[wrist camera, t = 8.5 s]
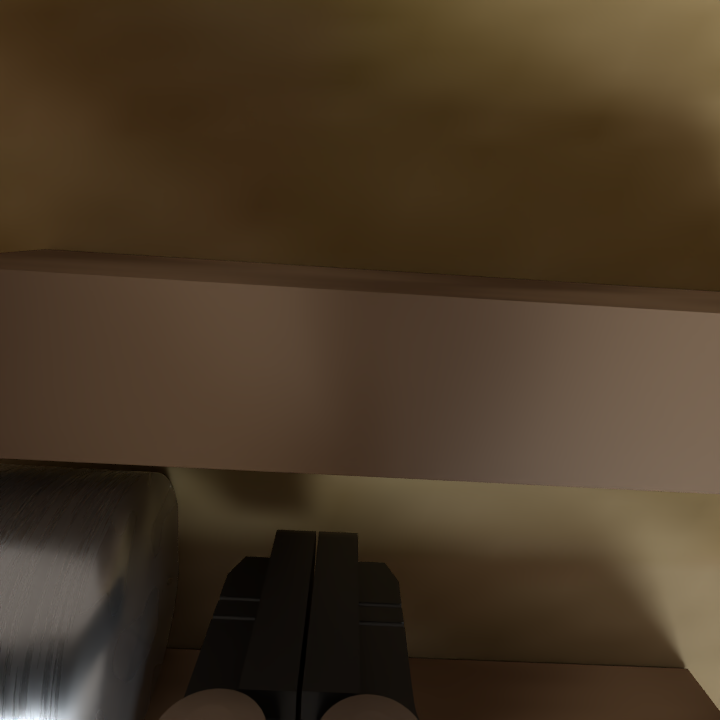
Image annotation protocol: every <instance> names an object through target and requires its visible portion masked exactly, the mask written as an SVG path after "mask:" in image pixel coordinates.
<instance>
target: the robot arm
mask: <svg viewBox="0 0 720 720" xmlns="http://www.w3.org/2000/svg"><path fill="white" fill-rule="evenodd" d="M315 549H316V531H295V530H277V532H276V536H275V540H274V544H273V548H272V552H271V556H270V558H268V557H247V556H246V557H245V558H244V559H243V560H242V561H241V562H240V563H239V564H238V565H237V566H236V567H235V568H233V569H232V570H231V571H230V572H229V573H228V575H227V578H226V580H225V583H224V586H223V589H222V592H221V594H220V600H218V603H217V606H216V608H215V611H214V614H213V619H212V620H211V622H210V625H209V628H208V631H207V634H206V636H205V639H204V642H203V645H202V648H201V650H200V653H199V656H198V659H197V662H196V665H195V667H194V670H193V673H192V676H191V679H190V681H189V684H188V687H187V690H186V693H185V695H184V697H183V699H181V700H179V701H178V702H176V703H175V704H174V705H172V706H171V707H170V708H169V709H168V710H167V711H166V712H165V713H164V714H163V715H162V716H161V717H160V718H159V720H419V718H418V715H417V713H416V709H415V704H414V697H413V690H412V682H411V674H410V666H409V659H408V651H407V643H406V636H405V628H404V620H403V613H402V608H401V597H400V590H399V582H398V580H397V579H396V578H395V576H394V575H393V574H392V572H391V571H390V569H389V568H388V567H387V565H386V564H385V563H379V562H358V535H357V533H340V532H319V538H318V547H317V557H316V566H315ZM314 570H315V575H314Z"/></svg>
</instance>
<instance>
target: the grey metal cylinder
mask: <svg viewBox="0 0 720 720" xmlns="http://www.w3.org/2000/svg"><path fill="white" fill-rule="evenodd" d="M178 575H179V563H178V504H177V499H176V495H175V492H174V489H173V486H172V485H171V483H170V481H169V479H168V478H167V477H166V476H165V475H163V474H161V473H157V472H140V471H122V470H104V469H87V468H69V467H51V466H33V465H15V464H0V720H144V718H145V715H146V713H147V710H148V707H149V704H150V701H151V699H152V696H153V693H154V690H155V686H156V683H157V680H158V677H159V673H160V670H161V666H162V663H163V659H164V655H165V651H166V647H167V642H168V638H169V633H170V628H171V623H172V618H173V612H174V606H175V600H176V592H177V584H178Z"/></svg>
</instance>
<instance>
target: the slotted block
mask: <svg viewBox="0 0 720 720" xmlns="http://www.w3.org/2000/svg"><path fill="white" fill-rule="evenodd" d="M0 458H6V459H26V460H46V461H66V462H86V463H106V464H126V465H146V466H166V467H186V468H206V469H226V470H246V471H266V472H286V473H307V474H327V475H347V476H367V477H387V478H407V479H427V480H447V481H467V482H487V483H507V484H527V485H547V486H567V487H587V488H607V489H628V490H648V491H668V492H688V493H708V494H720V292H716V291H700V290H684V289H669V288H653V287H637V286H621V285H605V284H589V283H573V282H557V281H541V280H525V279H509V278H493V277H477V276H461V275H445V274H429V273H413V272H397V271H381V270H365V269H349V268H333V267H317V266H301V265H285V264H269V263H253V262H237V261H221V260H206V259H190V258H174V257H158V256H142V255H126V254H110V253H94V252H78V251H62V250H46V249H44V250H32V251H19V252H7V253H0ZM199 653H200V650H190V649H166V651H165V655H164V659H163V663H162V666H161V670H160V673H159V677H158V680H157V683H156V686H155V690H154V693H153V696H152V699H151V701H150V704H149V707H148V710H147V713H146V715H145V718H144V720H159V718H160V717H161V716H162V715H163V714H164V713H165V712H166V711H167V710H168V709H169V708H170V707H171V706H172V705H174V704H175V703H176V702H178V701H179V700H181V699H183V697H184V695H185V693H186V690H187V687H188V684H189V681H190V679H191V676H192V673H193V670H194V667H195V665H196V662H197V659H198V656H199ZM408 659H409V666H410V674H411V682H412V690H413V697H414V704H415V709H416V713H417V715H418V718H419V720H720V711H719V710H718V708H717V707H716V706H715V704H714V703H713V702H712V700H711V699H710V698H709V696H708V695H707V694H706V692H705V691H704V690H703V689H702V687H701V686H700V685H699V683H698V682H697V681H696V679H695V678H694V677H693V675H692V674H691V673H690V671H689V670H688V669H680V668H655V667H629V666H603V665H577V664H551V663H526V662H500V661H474V660H448V659H422V658H408Z"/></svg>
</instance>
